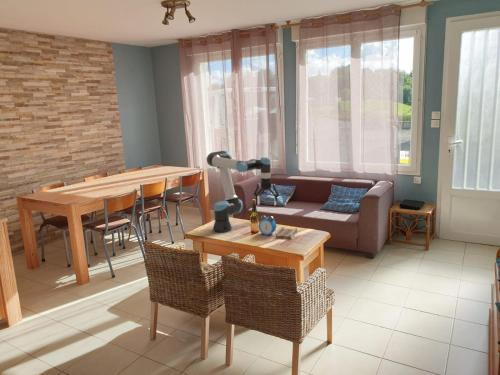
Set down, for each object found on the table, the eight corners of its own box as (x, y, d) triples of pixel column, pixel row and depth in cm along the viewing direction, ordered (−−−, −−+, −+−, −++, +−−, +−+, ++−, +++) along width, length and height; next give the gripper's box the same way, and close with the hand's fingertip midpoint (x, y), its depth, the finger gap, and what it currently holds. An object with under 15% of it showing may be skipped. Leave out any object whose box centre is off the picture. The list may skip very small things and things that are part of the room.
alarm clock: (258, 234, 319) (257, 216, 316) (261, 232, 324) (261, 214, 321) (273, 236, 313) (273, 217, 310) (276, 234, 319) (276, 215, 315)
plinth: (275, 237, 309) (275, 233, 309) (282, 230, 326) (282, 226, 325) (291, 239, 305) (291, 234, 304) (297, 232, 321) (297, 227, 321)
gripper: (249, 178, 311) (250, 205, 315) (280, 179, 302) (280, 206, 306) (252, 176, 317) (253, 202, 322) (283, 177, 309) (283, 204, 313)
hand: (266, 204), depth 314 cm, fingers open, 13 cm apart
